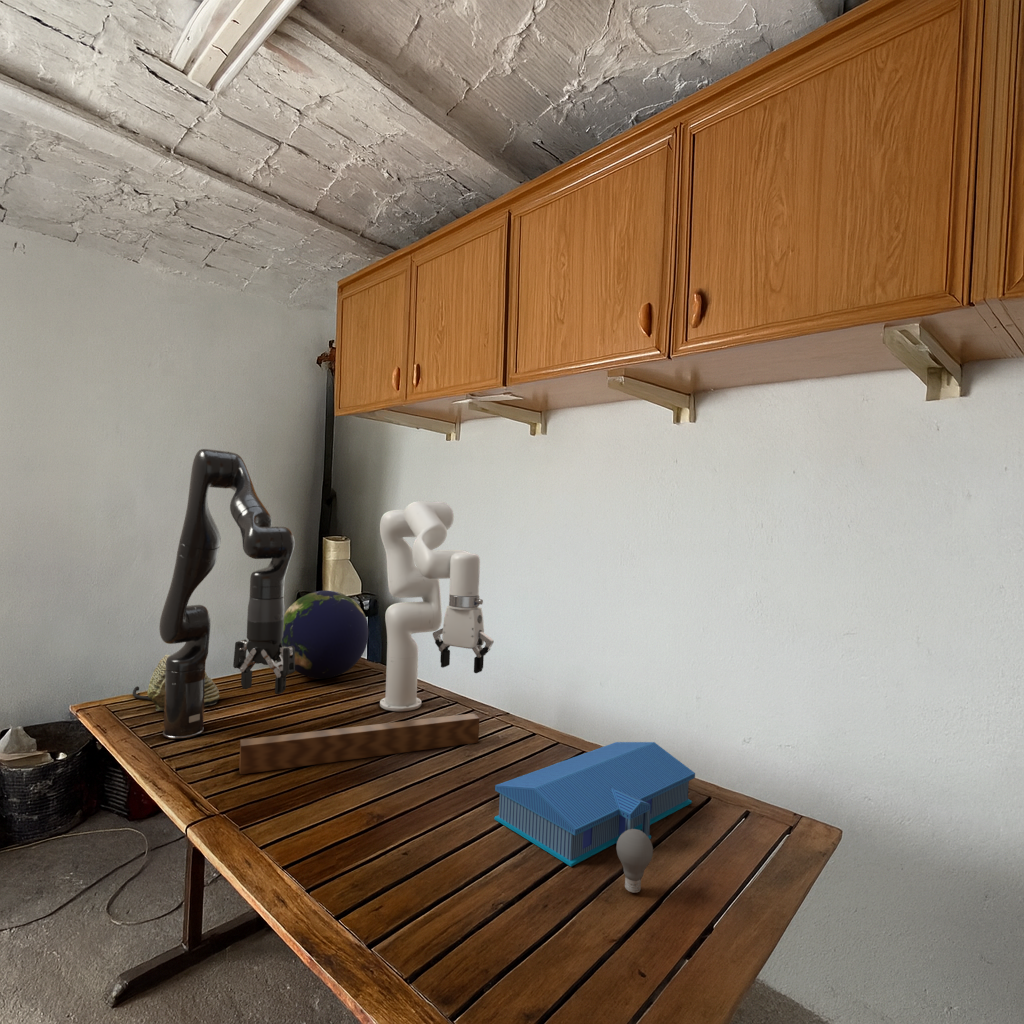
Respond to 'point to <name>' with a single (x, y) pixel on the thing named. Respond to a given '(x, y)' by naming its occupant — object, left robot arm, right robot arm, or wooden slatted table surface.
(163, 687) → the fossil
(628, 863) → the light bulb
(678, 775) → the model building
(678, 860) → the wooden slatted table surface
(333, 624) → the globe
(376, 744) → the bar
